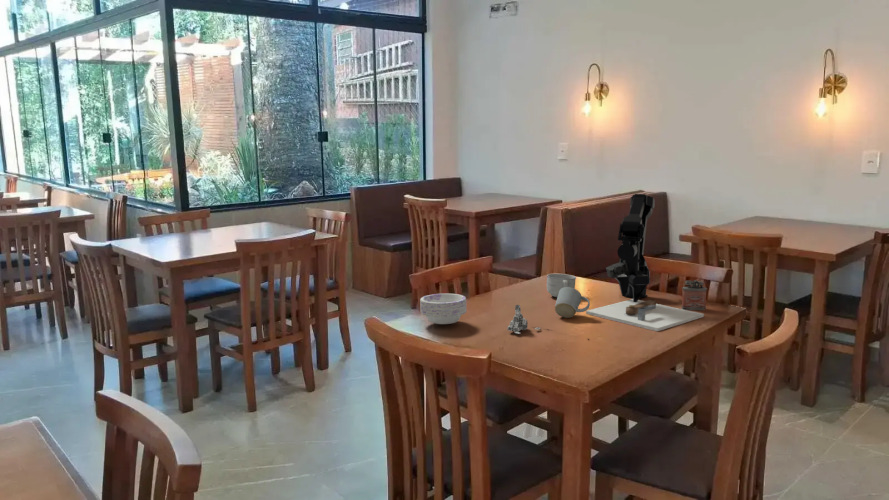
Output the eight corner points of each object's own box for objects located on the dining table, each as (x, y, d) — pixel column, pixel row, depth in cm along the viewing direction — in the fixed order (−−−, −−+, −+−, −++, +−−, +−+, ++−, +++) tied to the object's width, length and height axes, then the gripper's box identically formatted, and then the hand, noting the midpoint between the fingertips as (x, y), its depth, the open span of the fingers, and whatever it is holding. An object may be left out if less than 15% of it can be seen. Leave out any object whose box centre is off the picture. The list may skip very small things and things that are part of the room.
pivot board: (586, 313, 228) (586, 310, 228) (632, 301, 244) (633, 298, 244) (657, 331, 207) (657, 327, 206) (703, 316, 222) (703, 313, 222)
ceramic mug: (561, 321, 225) (548, 305, 222) (567, 304, 230) (555, 288, 228) (588, 315, 218) (575, 298, 215) (593, 297, 224) (581, 281, 221)
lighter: (704, 307, 234) (705, 279, 233) (707, 310, 231) (708, 281, 229) (680, 307, 235) (681, 279, 233) (682, 309, 232) (684, 281, 230)
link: (632, 315, 220) (632, 307, 220) (623, 313, 222) (624, 305, 222) (656, 306, 231) (657, 298, 230) (648, 305, 233) (648, 297, 232)
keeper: (637, 319, 216) (638, 308, 216) (651, 315, 221) (651, 304, 220) (641, 320, 215) (642, 309, 214) (655, 316, 220) (656, 305, 219)
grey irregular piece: (530, 335, 206) (530, 311, 204) (504, 331, 210) (504, 307, 209) (541, 328, 213) (541, 304, 212) (516, 324, 218) (516, 301, 216)
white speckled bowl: (433, 313, 232) (433, 290, 231) (473, 317, 226) (473, 294, 224) (412, 324, 219) (411, 300, 217) (454, 329, 212) (454, 305, 211)
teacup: (546, 292, 260) (546, 272, 259) (574, 293, 259) (575, 272, 257) (546, 301, 247) (547, 279, 245) (576, 301, 245) (577, 280, 244)
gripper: (598, 252, 244) (597, 294, 246) (620, 261, 226) (619, 306, 228) (627, 251, 246) (625, 292, 248) (651, 260, 228) (649, 304, 230)
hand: (629, 299), depth 239 cm, fingers open, 9 cm apart
